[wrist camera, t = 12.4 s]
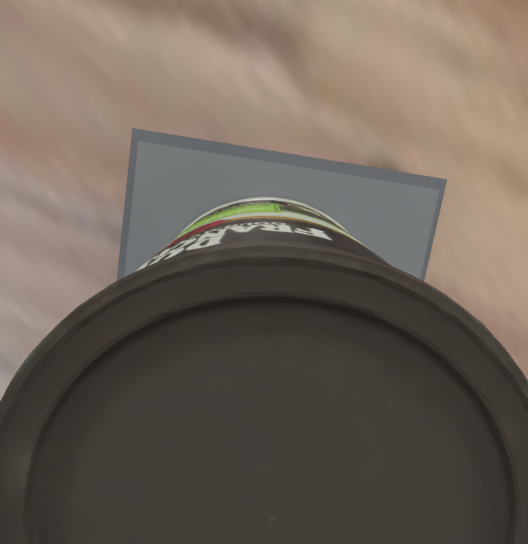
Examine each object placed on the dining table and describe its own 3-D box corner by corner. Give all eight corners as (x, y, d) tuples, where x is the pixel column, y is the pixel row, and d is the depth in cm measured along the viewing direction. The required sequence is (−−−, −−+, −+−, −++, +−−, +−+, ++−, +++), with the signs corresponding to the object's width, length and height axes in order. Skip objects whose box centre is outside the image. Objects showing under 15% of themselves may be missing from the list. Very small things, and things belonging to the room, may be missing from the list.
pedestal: (120, 393, 28) (97, 430, 24) (148, 133, 25) (127, 126, 21) (369, 429, 28) (387, 470, 24) (423, 178, 25) (453, 179, 21)
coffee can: (108, 256, 22) (-149, 402, 8) (324, 156, 21) (445, 132, 7) (210, 450, 24) (141, 835, 10) (411, 365, 23) (638, 657, 9)
